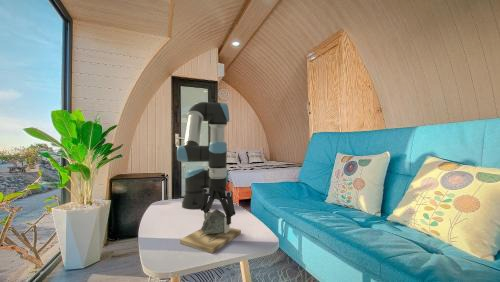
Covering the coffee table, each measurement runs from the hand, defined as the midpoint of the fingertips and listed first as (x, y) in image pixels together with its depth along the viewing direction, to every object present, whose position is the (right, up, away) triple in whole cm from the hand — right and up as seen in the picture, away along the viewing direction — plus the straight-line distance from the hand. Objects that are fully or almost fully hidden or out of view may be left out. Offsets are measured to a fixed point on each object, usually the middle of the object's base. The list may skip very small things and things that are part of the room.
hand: (217, 229), depth 94 cm
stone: (-1, -1, 0) cm, 1 cm away
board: (-2, -2, -3) cm, 4 cm away
